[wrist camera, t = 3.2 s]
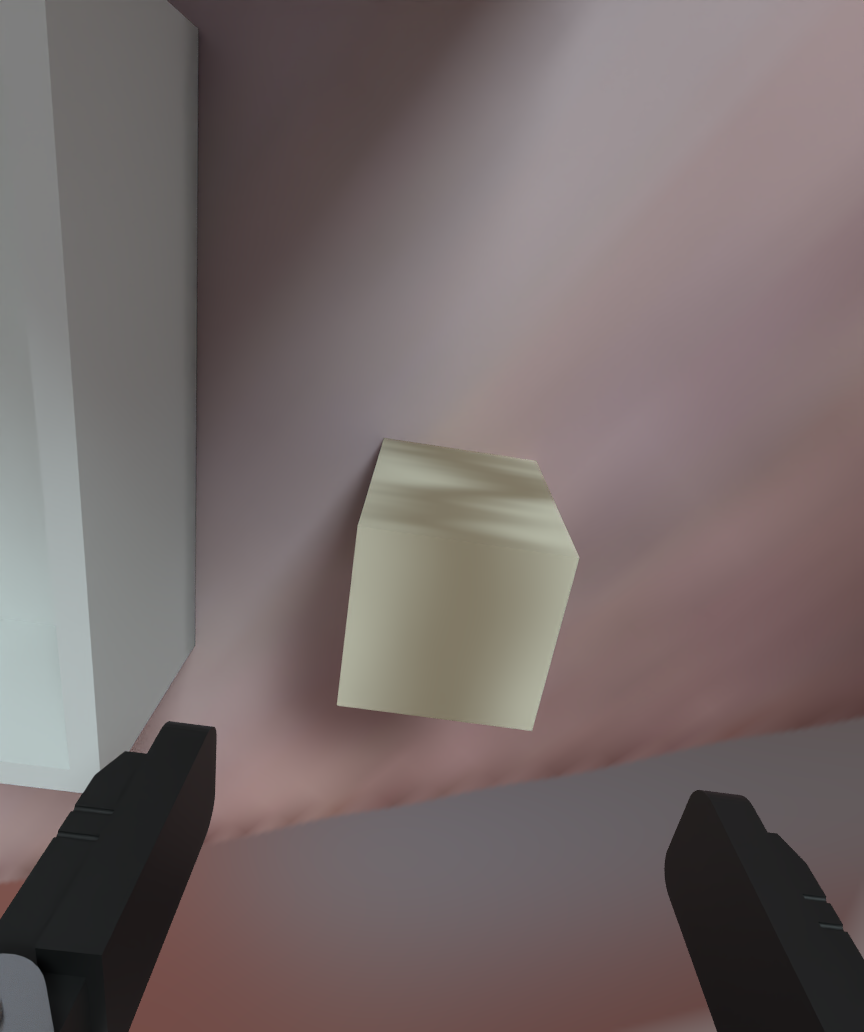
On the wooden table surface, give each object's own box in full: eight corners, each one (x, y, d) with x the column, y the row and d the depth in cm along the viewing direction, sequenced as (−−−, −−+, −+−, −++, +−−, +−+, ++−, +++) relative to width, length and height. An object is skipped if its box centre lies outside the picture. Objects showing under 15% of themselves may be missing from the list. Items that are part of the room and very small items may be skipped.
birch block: (535, 460, 21) (579, 557, 14) (505, 592, 23) (531, 730, 16) (383, 437, 20) (357, 525, 14) (366, 573, 22) (336, 705, 16)
